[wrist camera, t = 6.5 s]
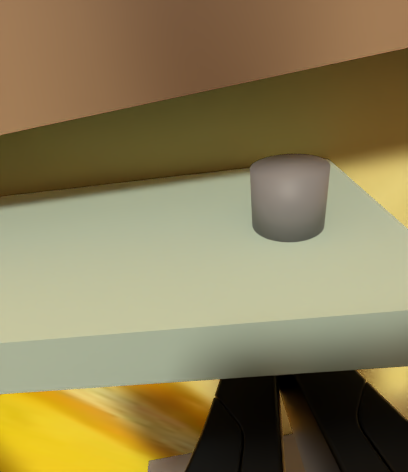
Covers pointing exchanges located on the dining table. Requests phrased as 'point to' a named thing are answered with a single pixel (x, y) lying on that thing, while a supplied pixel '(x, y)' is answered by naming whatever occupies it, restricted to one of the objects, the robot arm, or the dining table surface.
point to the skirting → (171, 49)
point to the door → (200, 279)
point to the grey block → (174, 467)
